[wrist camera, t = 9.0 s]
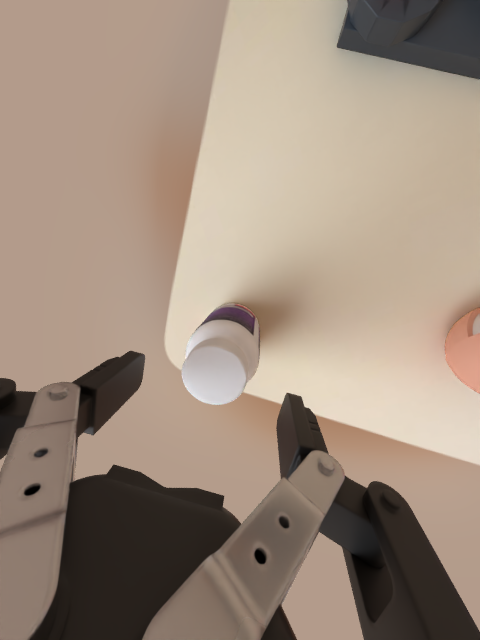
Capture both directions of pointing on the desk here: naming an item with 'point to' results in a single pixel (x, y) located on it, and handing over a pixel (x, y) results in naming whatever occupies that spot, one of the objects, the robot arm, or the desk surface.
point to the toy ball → (465, 349)
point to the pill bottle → (222, 355)
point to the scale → (416, 32)
